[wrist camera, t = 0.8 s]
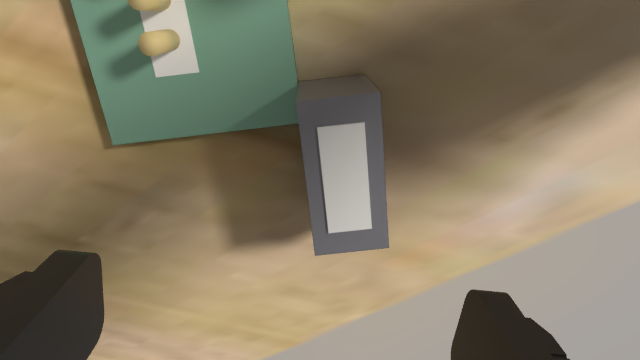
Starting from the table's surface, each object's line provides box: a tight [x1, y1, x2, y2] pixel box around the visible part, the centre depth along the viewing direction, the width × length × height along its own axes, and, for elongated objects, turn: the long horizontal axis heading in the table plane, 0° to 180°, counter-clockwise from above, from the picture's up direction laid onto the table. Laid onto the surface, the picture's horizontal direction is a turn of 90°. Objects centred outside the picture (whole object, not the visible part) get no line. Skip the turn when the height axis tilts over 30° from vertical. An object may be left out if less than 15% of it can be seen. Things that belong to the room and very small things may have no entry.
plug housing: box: [296, 74, 389, 256], centre depth 26 cm, size 4×9×7 cm, turn 6°
